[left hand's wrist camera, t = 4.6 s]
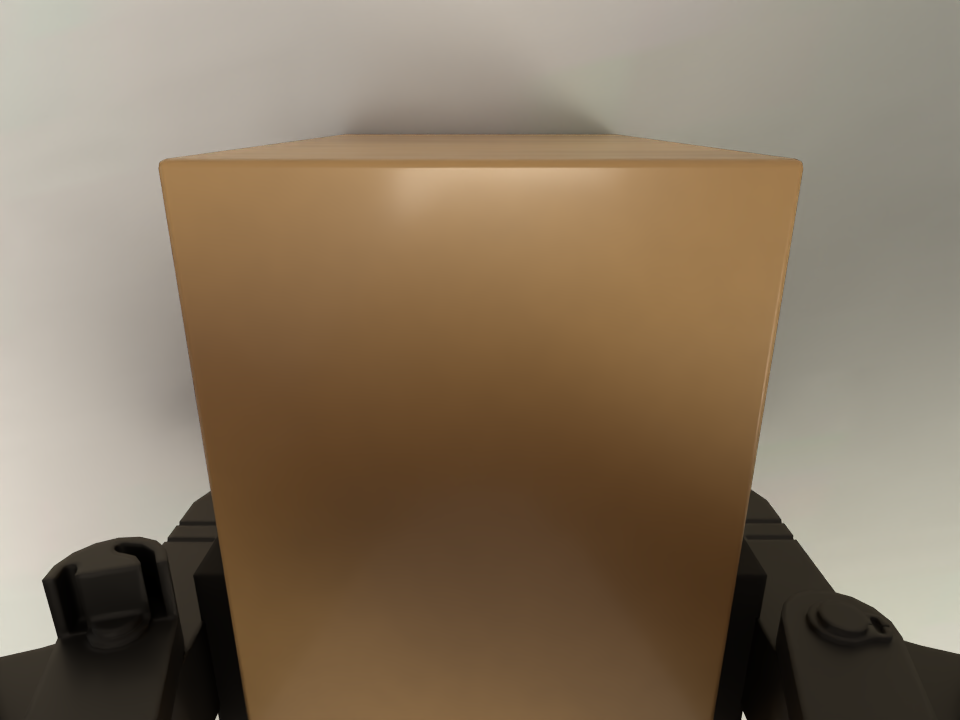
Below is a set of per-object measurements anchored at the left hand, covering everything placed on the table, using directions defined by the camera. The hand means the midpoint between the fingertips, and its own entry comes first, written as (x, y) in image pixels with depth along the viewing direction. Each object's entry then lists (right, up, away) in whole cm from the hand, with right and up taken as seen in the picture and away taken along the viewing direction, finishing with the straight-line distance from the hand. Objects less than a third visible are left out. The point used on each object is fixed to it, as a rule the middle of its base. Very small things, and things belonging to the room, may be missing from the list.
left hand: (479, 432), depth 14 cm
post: (0, -26, +10) cm, 28 cm away
